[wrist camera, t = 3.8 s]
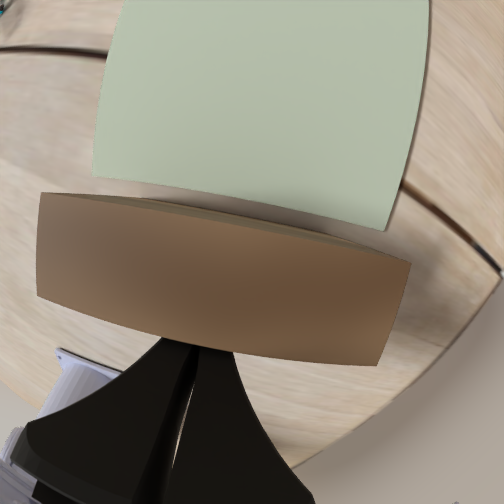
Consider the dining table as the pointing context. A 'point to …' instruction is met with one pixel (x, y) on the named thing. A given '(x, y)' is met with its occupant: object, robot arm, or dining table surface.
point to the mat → (266, 100)
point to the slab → (218, 278)
